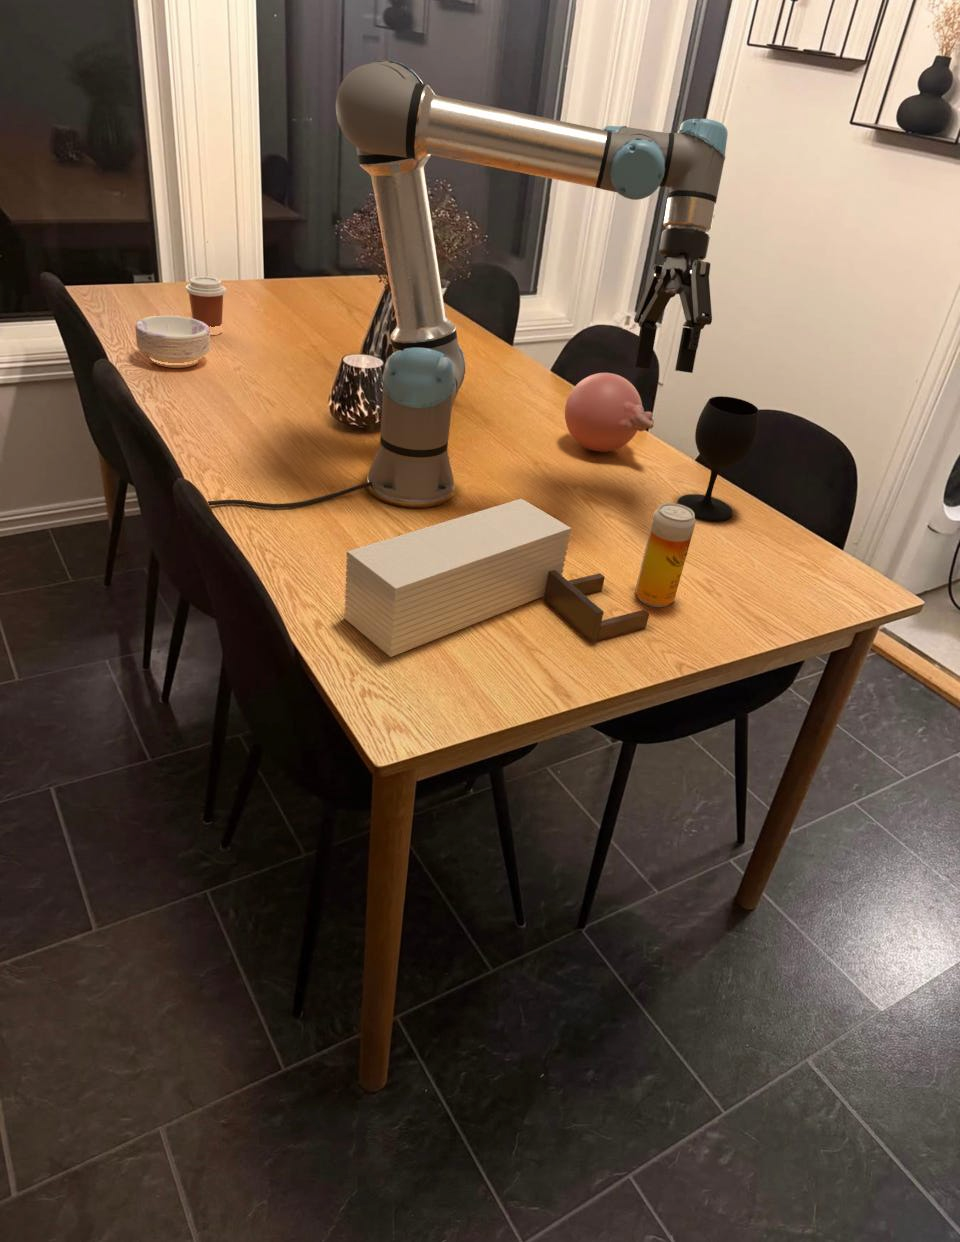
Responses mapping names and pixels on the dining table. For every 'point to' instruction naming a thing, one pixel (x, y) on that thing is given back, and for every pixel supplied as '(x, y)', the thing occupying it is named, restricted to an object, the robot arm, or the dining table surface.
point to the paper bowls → (173, 339)
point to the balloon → (605, 412)
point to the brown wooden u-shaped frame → (588, 607)
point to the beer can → (665, 554)
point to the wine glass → (721, 449)
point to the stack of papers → (452, 574)
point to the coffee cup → (206, 299)
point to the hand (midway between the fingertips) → (661, 370)
